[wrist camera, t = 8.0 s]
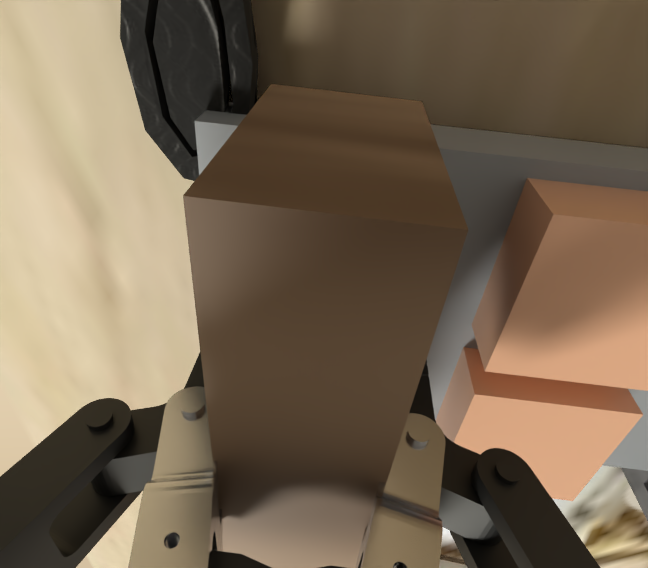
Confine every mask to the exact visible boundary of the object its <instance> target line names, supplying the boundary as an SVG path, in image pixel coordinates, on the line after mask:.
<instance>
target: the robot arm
mask: <svg viewBox="0 0 648 568" xmlns="http://www.w3.org/2000/svg"><path fill="white" fill-rule="evenodd" d="M428 375H429V373H428V366H427V359H426V362H425V365H424V368H423V372H422V375H421V378H420V381H419V384H418V387H417V390H416V393H415V396H414V399H413V402H412V405H411V409H410V412H409V415H408V418H407V421H406V424H405V427H404V430H403V433H402V436H401V439H400V442H399V445H398V449H397V452H396V455H395V458H394V461H393V464H392V467H391V470H390V473H389V476H388V479H387V482H386V483H385V482H379V485H378V488H377V491H376V495H375V500H374V504H373V508H372V512H371V516H370V520H369V523H368V527H367V528H365V531H364V534H363V537H362V542H361V546H360V550H359V554H358V558H357V562H356V566H355V568H439V564H440V553H441V542H442V527H444V528H446V529H448V530H450V533H451V535H452V537H453V539H454V541H455V543H456V545H457V547H458V549H459V551H460V553H461V555H462V557H463V560H464V562H465V564H466V566H467V568H600V567H599V565H598V564H597V562H596V561H595V559H594V558H593V557H592V555H591V554H590V552H589V551H588V549H587V548H586V547H585V545H584V544H583V542H582V541H581V539H580V538H579V537H578V535H577V534H576V532H575V531H574V529H573V528H572V527H571V525H570V524H569V522H568V521H567V519H566V518H565V516H564V515H563V514H562V512H561V511H560V509H559V508H558V506H557V505H556V504H555V502H554V501H553V499H552V498H551V496H550V495H549V494H548V492H547V491H546V489H545V488H544V486H543V485H542V484H541V482H540V481H539V479H538V478H537V476H536V475H535V474H534V472H533V471H532V469H531V468H530V467H529V465H528V464H527V463H526V462H525V461H524V460H523V459H522V458H521V457H519V456H518V455H516V454H515V453H513V452H511V451H509V450H505V449H501V448H491V449H488V450H485V451H484V452H483V453H482V454H481V455H480V454H478V453H476V452H473V451H471V450H469V449H466V448H464V447H461V446H459V445H457V444H456V443H454V442H452V441H451V440H450V439H448V438H447V437H446V436H445V435H444V434H443V431H442V430H441V428H440V427H439V426H438V425H437V423H436V420H435V415H434V408H433V401H432V394H431V387H430V380H429V377H428ZM142 491H143V494H142V499H141V504H140V509H139V515H138V520H137V525H136V530H135V535H134V540H133V546H132V551H131V556H130V561H129V566H128V568H272V567H269V566H267V565H265V564H263V563H260V562H258V561H256V560H254V559H252V558H249V557H247V556H245V555H243V554H238V553H231V552H223V538H222V535H223V513H222V509H219V506H218V463H217V461H213V459H212V450H211V441H210V432H209V423H208V414H207V405H206V396H205V388H204V379H203V370H202V361H201V352H200V353H199V356H198V358H197V360H196V363H195V365H194V367H193V370H192V372H191V374H190V377H189V379H188V381H187V384H186V386H185V388H184V389H182V390H180V391H179V392H177V393H175V394H174V395H173V396H172V397H171V398H170V399H169V400H168V402H167V403H165V404H163V405H160V406H156V407H150V408H144V409H137V410H131V411H130V408H129V407H128V405H127V404H126V403H124V402H123V401H121V400H119V399H114V398H105V399H99V400H96V401H93V402H91V403H89V404H87V405H85V406H84V407H82V408H81V409H80V410H79V411H77V412H76V413H75V414H74V415H73V416H71V417H70V418H69V419H68V420H67V421H66V422H64V423H63V424H62V425H61V426H60V427H58V428H57V429H56V430H55V431H54V432H53V433H51V434H50V435H49V436H48V437H47V438H45V439H44V440H43V441H42V442H41V443H40V444H38V445H37V446H36V447H35V448H34V449H32V450H31V451H30V452H29V453H28V454H27V455H26V456H24V457H23V458H22V459H21V460H20V461H18V462H17V463H16V464H15V465H14V466H12V467H11V468H10V469H9V470H8V471H7V472H5V473H4V474H3V475H2V476H1V477H0V568H76V566H77V565H78V564H79V563H80V562H81V561H82V560H83V559H84V557H85V556H86V555H87V554H88V553H89V552H90V551H91V549H92V548H93V547H94V546H95V545H96V544H97V542H98V541H99V540H100V539H101V538H102V537H103V536H104V534H105V533H106V532H107V531H108V530H109V529H110V528H111V526H112V525H113V524H114V523H115V522H116V521H117V519H118V518H119V517H120V516H121V515H122V514H123V513H124V511H125V510H126V509H127V508H128V507H129V506H130V504H131V503H132V502H133V501H134V500H135V499H136V498H137V496H138V495H139V494H140V493H141V492H142ZM319 568H346V567H338V566H325V567H319Z"/></svg>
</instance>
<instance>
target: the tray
mask: <svg viewBox="0 0 648 568" xmlns="http://www.w3.org/2000/svg"><path fill="white" fill-rule="evenodd" d="M622 470H623V472H624V474H625V476H626V478H627V480H628V482H629V484H630V486H631V488H632V490H633V492H634V494H635V496H636V498H637V500H638V503H639V505H640V507H641V509H642V511H643V513H644V515H645V517H646V519H647V521H648V471H645V470H637V469H629V468H622Z"/></svg>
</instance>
